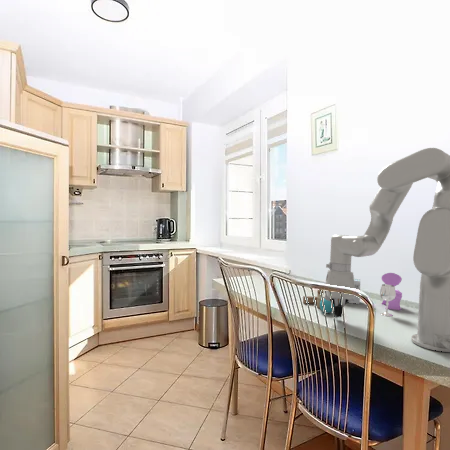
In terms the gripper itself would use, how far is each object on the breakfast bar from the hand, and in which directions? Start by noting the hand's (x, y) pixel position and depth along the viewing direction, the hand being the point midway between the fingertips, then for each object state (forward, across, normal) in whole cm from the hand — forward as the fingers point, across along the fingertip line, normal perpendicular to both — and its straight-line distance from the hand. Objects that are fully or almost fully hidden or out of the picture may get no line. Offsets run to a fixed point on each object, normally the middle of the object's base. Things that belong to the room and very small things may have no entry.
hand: (337, 315), depth 126 cm
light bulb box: (+2, +14, +30) cm, 33 cm away
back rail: (+2, 0, +23) cm, 23 cm away
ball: (-2, -2, +9) cm, 9 cm away
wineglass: (+2, +23, +10) cm, 25 cm away
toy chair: (+2, +31, +23) cm, 39 cm away
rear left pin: (+2, -2, +16) cm, 17 cm away
